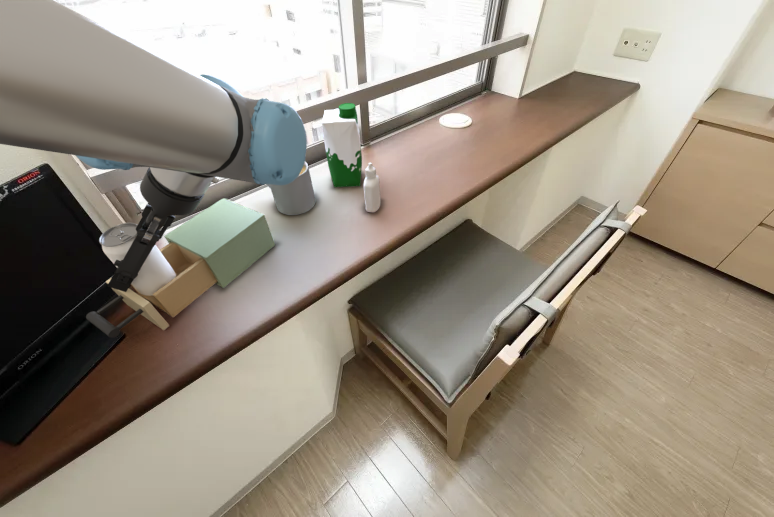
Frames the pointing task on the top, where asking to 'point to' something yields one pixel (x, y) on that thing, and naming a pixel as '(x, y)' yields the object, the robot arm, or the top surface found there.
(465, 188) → the top surface
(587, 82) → the top surface
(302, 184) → the coffee mug
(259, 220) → the cabinet
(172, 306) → the drawer
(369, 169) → the eye dropper bottle
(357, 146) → the milk carton
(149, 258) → the can
